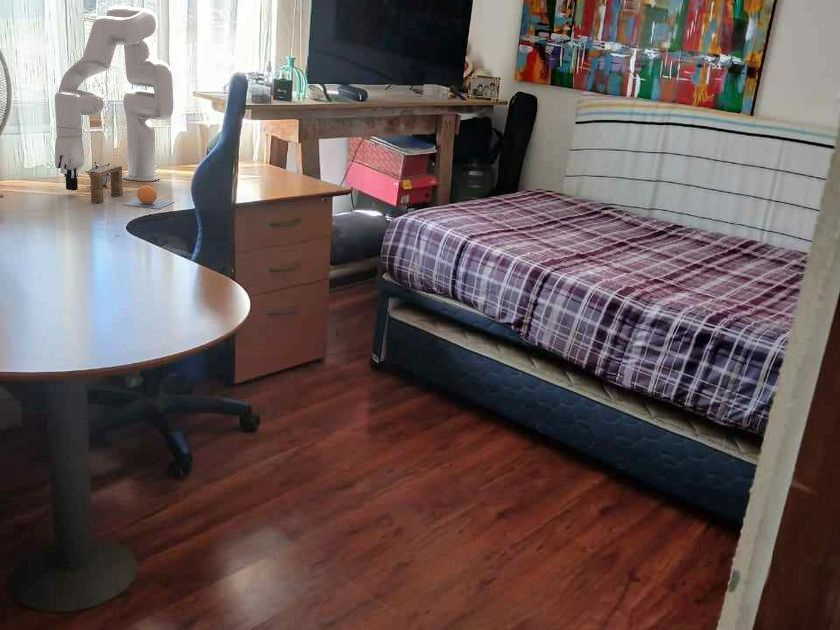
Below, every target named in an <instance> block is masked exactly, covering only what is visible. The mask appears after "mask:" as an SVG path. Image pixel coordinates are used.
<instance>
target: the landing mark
mask: <svg viewBox="0 0 840 630" xmlns="http://www.w3.org/2000/svg"><path fill="white" fill-rule="evenodd" d="M174 203H175V201H171V200H164V199H162V200H161V199H156V200H155V201H154V202H153V203H152V204H143V203H142V202H140V201H139V199H138V197H137V198H135V199H133V200H130V201H127V202H125V203H123V204H122V205H123V206H128V205H130V207H136V206H137V208H146V209H153V210H154V209H155V210H160V209H161V210H162V209H163V208H165V207H167V206H170V205H171V204H174ZM122 205H121V206H122Z"/></svg>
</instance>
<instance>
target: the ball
mask: <svg viewBox="0 0 840 630" xmlns="http://www.w3.org/2000/svg"><path fill="white" fill-rule="evenodd" d="M136 195H137V198H138V199H139V201H140V202H142V203H143V204H152V203H153V202H154V201H155V200H157V198H158V193H157V191H156V189H155V188H154V187H153V186H151V185H146V184H145V185H142V186H140V187H139V189H138V190H137V194H136Z"/></svg>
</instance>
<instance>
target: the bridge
mask: <svg viewBox="0 0 840 630" xmlns="http://www.w3.org/2000/svg"><path fill="white" fill-rule="evenodd" d="M109 173H111V180H110V196H116V197H121V196H123V192H124V191H123V166H122V165H118V164H117V165H116V164H112V165H109V166H108V167H104V168H101V169H97V170H94V171H90V177H89V179H90V201H91V203H94V202H96V204H102V202H103V203H104V185H103V175H106V174H109Z"/></svg>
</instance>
